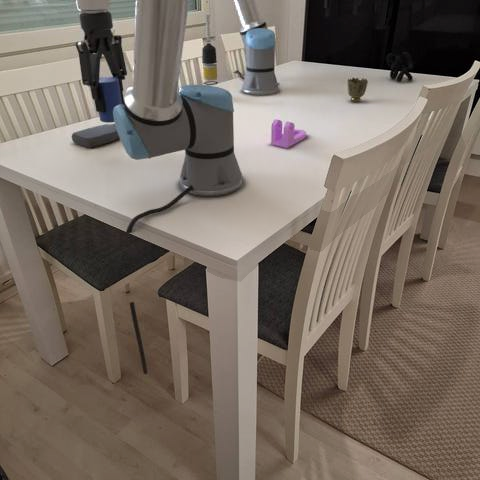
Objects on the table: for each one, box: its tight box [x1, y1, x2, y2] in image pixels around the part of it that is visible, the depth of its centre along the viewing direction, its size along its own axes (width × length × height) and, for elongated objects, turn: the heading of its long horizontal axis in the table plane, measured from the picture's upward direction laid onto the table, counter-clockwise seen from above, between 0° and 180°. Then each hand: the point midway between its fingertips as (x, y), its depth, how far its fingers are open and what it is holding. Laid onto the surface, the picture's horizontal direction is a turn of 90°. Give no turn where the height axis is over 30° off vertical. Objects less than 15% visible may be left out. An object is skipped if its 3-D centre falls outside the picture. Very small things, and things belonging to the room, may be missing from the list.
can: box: [93, 76, 122, 124], centre depth 117 cm, size 6×6×10 cm
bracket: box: [270, 119, 307, 149], centre depth 134 cm, size 13×6×7 cm, turn 143°
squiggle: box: [385, 51, 414, 83], centre depth 198 cm, size 11×10×15 cm
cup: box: [347, 77, 369, 103], centre depth 170 cm, size 8×7×8 cm
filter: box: [201, 14, 219, 86], centre depth 171 cm, size 6×6×30 cm
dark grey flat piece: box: [71, 123, 120, 149], centre depth 142 cm, size 3×11×25 cm
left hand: (110, 108), depth 118 cm, fingers closed on can, 6 cm apart
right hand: (341, 15), depth 186 cm, fingers open, 13 cm apart
